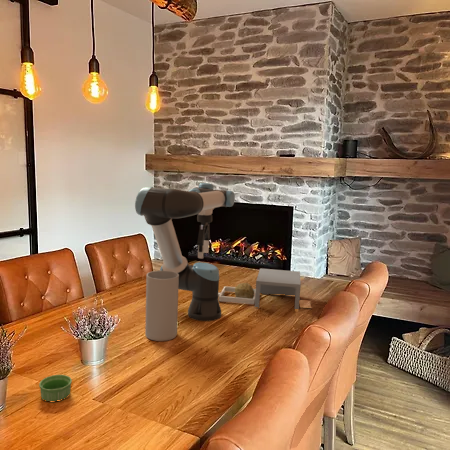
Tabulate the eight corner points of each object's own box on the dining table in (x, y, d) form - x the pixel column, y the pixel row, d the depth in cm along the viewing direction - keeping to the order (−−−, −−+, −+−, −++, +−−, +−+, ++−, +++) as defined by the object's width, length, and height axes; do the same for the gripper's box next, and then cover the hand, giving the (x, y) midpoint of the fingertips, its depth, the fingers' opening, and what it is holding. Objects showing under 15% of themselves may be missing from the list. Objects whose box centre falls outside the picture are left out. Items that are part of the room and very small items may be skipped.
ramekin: (75, 388, 138) (75, 374, 137) (66, 404, 129) (66, 390, 128) (45, 387, 137) (45, 374, 137) (34, 403, 129) (34, 389, 128)
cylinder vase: (147, 342, 172) (148, 279, 168) (143, 330, 184) (145, 271, 180) (179, 340, 176) (181, 278, 172) (174, 328, 188) (176, 270, 184)
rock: (241, 309, 225) (251, 294, 222) (227, 293, 231) (237, 279, 227) (252, 306, 233) (262, 292, 229) (238, 291, 238) (248, 277, 235)
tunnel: (310, 297, 238) (312, 272, 235) (312, 313, 213) (314, 285, 211) (258, 292, 241) (260, 268, 239) (254, 307, 217) (256, 280, 215)
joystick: (256, 293, 238) (258, 265, 236) (254, 304, 221) (255, 274, 218) (201, 288, 242) (202, 260, 240) (194, 298, 225) (195, 268, 223)
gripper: (207, 217, 214) (205, 261, 217) (216, 211, 239) (214, 251, 242) (192, 216, 215) (190, 259, 218) (202, 210, 240) (200, 250, 243)
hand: (203, 255), depth 230 cm, fingers open, 13 cm apart
